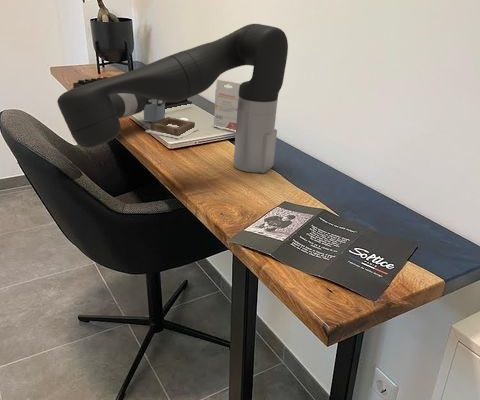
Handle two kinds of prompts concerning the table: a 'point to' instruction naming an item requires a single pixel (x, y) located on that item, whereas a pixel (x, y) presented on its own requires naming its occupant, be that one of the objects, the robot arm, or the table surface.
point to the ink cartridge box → (226, 104)
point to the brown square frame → (176, 131)
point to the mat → (160, 133)
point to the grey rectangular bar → (154, 112)
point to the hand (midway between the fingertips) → (159, 92)
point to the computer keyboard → (167, 105)
